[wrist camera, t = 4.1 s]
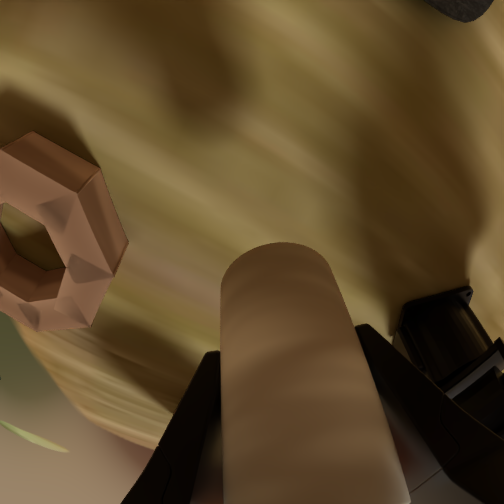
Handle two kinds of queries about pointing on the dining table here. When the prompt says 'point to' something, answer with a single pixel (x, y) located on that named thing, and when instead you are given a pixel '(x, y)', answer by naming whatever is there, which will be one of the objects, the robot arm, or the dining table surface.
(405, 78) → the dining table surface
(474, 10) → the sushi plate
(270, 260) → the peg
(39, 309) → the pinkish brown flat ring
